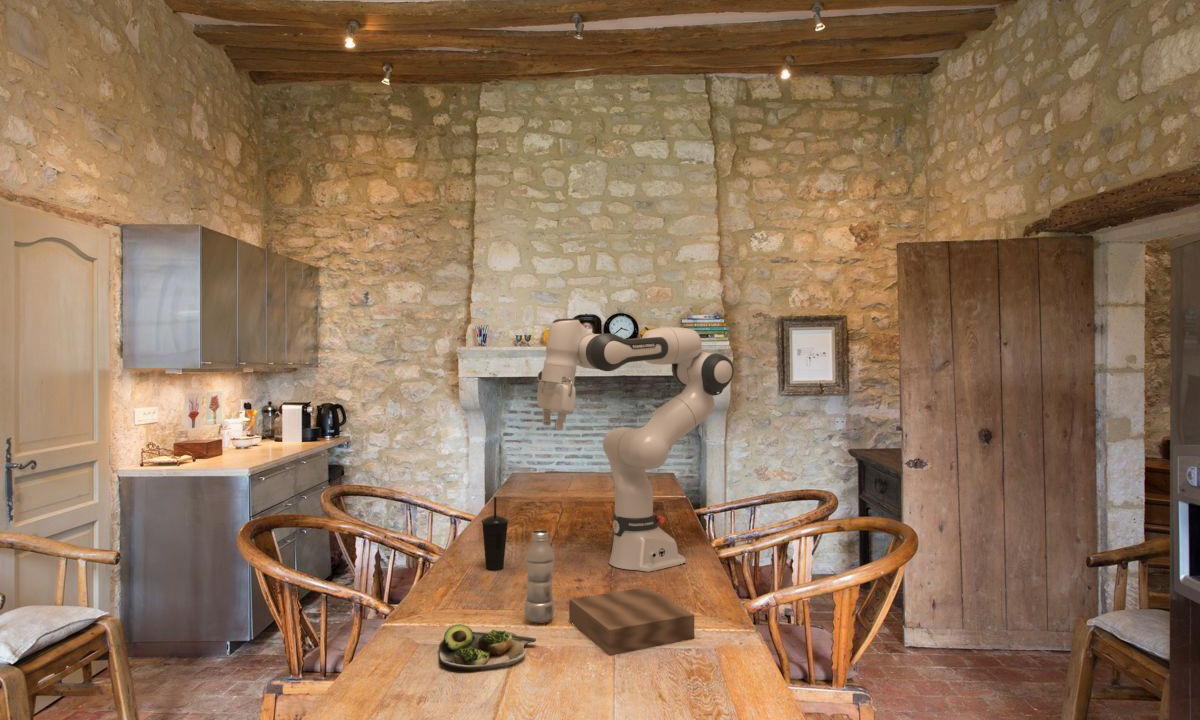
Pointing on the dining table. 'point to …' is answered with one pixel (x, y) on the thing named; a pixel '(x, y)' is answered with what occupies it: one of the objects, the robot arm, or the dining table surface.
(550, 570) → the plastic bottle
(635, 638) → the walnut base
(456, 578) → the dining table surface
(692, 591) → the dining table surface
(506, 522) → the drinking cup
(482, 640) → the avocado toast plate
